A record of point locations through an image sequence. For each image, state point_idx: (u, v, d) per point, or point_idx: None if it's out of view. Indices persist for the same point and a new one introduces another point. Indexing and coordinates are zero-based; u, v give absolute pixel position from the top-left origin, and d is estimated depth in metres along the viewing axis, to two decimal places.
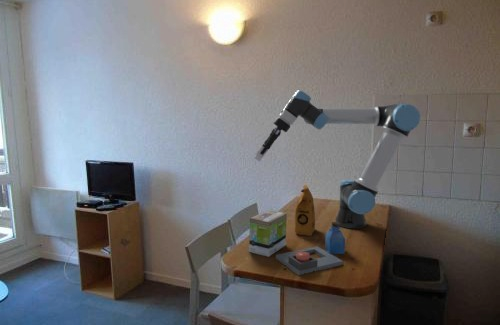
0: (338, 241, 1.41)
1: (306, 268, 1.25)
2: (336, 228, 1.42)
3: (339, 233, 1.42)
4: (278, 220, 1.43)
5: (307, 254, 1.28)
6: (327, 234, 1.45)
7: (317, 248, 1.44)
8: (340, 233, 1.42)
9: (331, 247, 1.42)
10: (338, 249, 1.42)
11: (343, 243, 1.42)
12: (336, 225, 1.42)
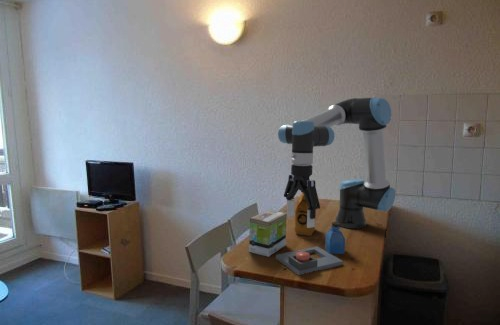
0: (338, 241, 1.41)
1: (306, 268, 1.25)
2: (336, 228, 1.42)
3: (339, 233, 1.42)
4: (278, 220, 1.43)
5: (307, 254, 1.28)
6: (327, 234, 1.45)
7: (317, 248, 1.44)
8: (340, 233, 1.42)
9: (331, 247, 1.42)
10: (338, 249, 1.42)
11: (343, 243, 1.42)
12: (336, 225, 1.42)
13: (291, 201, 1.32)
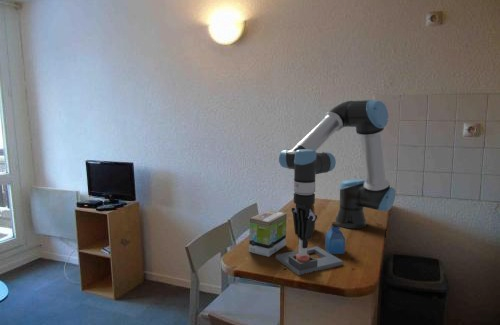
0: (338, 241, 1.41)
1: (306, 268, 1.25)
2: (336, 228, 1.42)
3: (339, 233, 1.42)
4: (278, 220, 1.43)
5: (307, 256, 1.28)
6: (327, 234, 1.45)
7: (317, 248, 1.44)
8: (340, 233, 1.42)
9: (331, 247, 1.42)
10: (338, 249, 1.42)
11: (343, 243, 1.42)
12: (336, 225, 1.42)
13: None
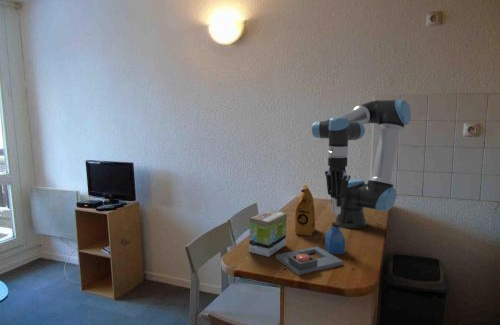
0: (338, 241, 1.41)
1: (306, 268, 1.25)
2: (336, 228, 1.42)
3: (339, 233, 1.42)
4: (278, 220, 1.43)
5: (307, 257, 1.28)
6: (327, 234, 1.45)
7: (317, 248, 1.44)
8: (340, 233, 1.42)
9: (331, 247, 1.42)
10: (338, 249, 1.42)
11: (343, 243, 1.42)
12: (336, 225, 1.42)
13: None
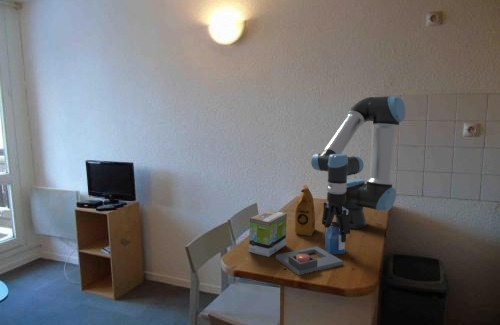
0: (338, 241, 1.41)
1: (306, 268, 1.25)
2: (336, 228, 1.42)
3: (339, 233, 1.42)
4: (278, 220, 1.43)
5: (307, 257, 1.28)
6: (327, 234, 1.45)
7: (317, 248, 1.44)
8: (340, 233, 1.42)
9: (331, 247, 1.42)
10: None
11: None
12: (336, 225, 1.42)
13: (329, 228, 1.47)
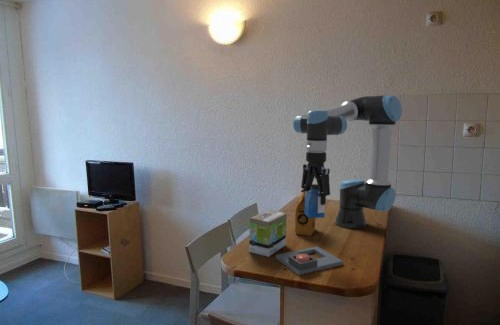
0: (317, 204, 1.32)
1: (306, 268, 1.25)
2: (315, 190, 1.32)
3: None
4: (278, 220, 1.43)
5: (307, 257, 1.28)
6: (306, 197, 1.36)
7: (317, 248, 1.44)
8: None
9: (310, 210, 1.32)
10: (317, 212, 1.32)
11: None
12: (315, 187, 1.33)
13: (309, 192, 1.38)
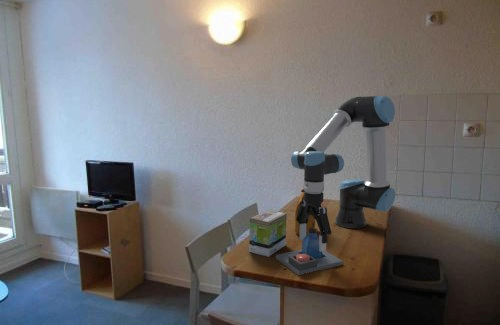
0: (315, 248, 1.34)
1: (306, 268, 1.25)
2: (313, 234, 1.35)
3: (316, 240, 1.35)
4: (278, 220, 1.43)
5: (307, 257, 1.28)
6: (304, 241, 1.38)
7: None
8: (317, 240, 1.35)
9: None
10: (315, 256, 1.35)
11: None
12: (313, 231, 1.35)
13: (303, 225, 1.42)
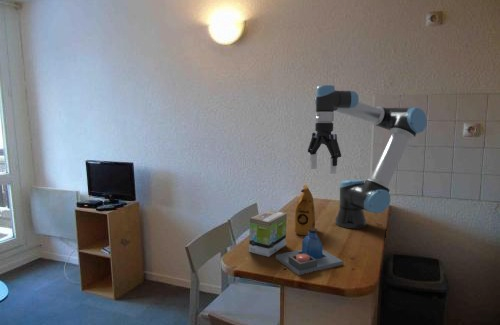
0: (315, 248, 1.34)
1: (306, 268, 1.25)
2: (313, 234, 1.35)
3: (316, 240, 1.35)
4: (278, 220, 1.43)
5: (307, 257, 1.28)
6: (304, 241, 1.38)
7: None
8: (317, 240, 1.35)
9: None
10: (315, 256, 1.35)
11: (321, 250, 1.35)
12: (313, 231, 1.35)
13: (314, 155, 1.57)
